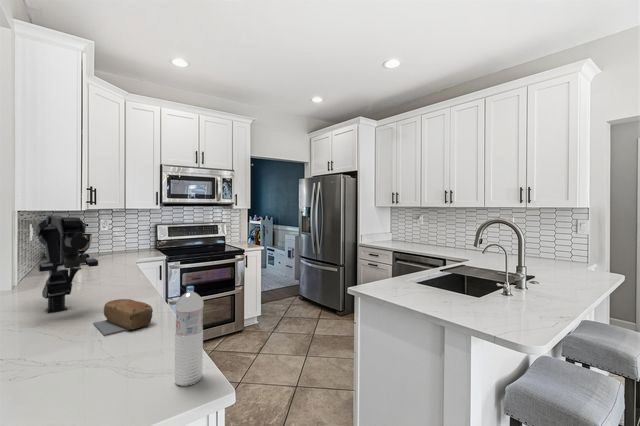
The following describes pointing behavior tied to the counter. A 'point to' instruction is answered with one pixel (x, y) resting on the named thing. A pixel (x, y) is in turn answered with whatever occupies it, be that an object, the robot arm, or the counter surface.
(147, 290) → the counter surface
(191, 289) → the water bottle
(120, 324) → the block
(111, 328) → the mat
